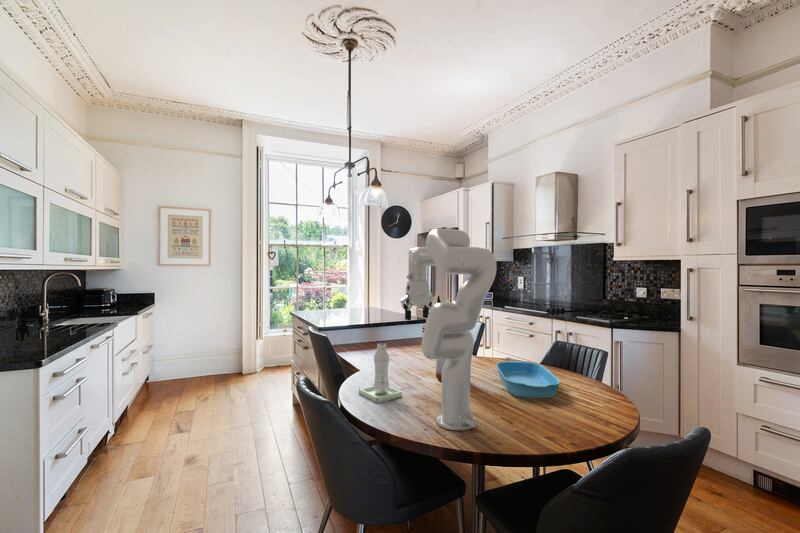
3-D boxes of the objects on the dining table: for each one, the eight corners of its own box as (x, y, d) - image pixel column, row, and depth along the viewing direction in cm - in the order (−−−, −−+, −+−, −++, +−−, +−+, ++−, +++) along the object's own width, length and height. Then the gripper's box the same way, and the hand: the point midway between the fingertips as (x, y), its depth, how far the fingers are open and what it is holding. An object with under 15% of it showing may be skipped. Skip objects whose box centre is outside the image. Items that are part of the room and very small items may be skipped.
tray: (401, 396, 152) (401, 391, 152) (376, 403, 144) (377, 398, 144) (382, 388, 162) (382, 383, 162) (358, 393, 155) (358, 389, 155)
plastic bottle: (375, 396, 150) (375, 346, 150) (371, 391, 156) (372, 342, 156) (391, 395, 151) (391, 345, 151) (387, 390, 158) (387, 342, 158)
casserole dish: (567, 403, 146) (567, 385, 146) (508, 401, 148) (509, 383, 148) (539, 375, 183) (539, 361, 183) (492, 374, 185) (492, 359, 185)
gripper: (406, 278, 150) (406, 321, 150) (438, 277, 160) (438, 318, 161) (395, 278, 156) (395, 319, 156) (426, 277, 166) (426, 316, 166)
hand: (417, 318), depth 158 cm, fingers open, 9 cm apart
